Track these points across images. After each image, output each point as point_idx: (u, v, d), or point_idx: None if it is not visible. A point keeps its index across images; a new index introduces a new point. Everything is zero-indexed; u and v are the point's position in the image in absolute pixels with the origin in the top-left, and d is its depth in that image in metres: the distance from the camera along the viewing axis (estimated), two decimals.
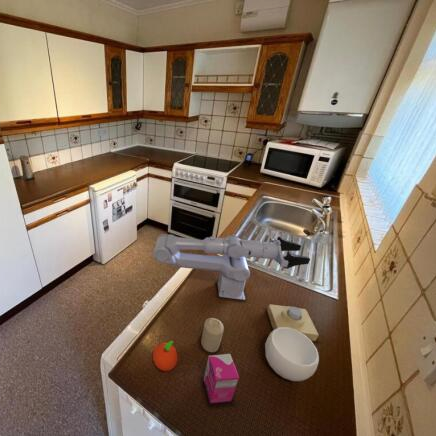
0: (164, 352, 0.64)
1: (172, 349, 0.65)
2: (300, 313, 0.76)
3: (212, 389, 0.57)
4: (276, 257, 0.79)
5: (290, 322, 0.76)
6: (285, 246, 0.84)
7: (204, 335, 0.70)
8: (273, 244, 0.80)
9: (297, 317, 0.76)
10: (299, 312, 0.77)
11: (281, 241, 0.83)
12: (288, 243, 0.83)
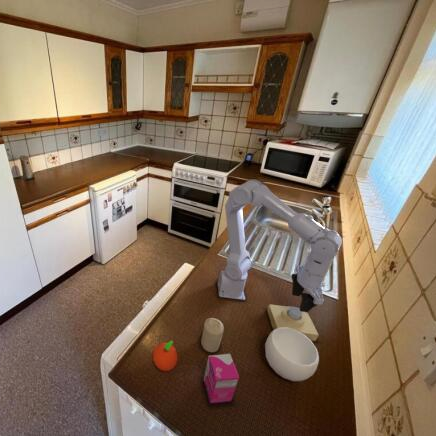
0: (164, 352, 0.64)
1: (172, 349, 0.65)
2: (300, 313, 0.76)
3: (212, 389, 0.57)
4: (311, 287, 0.68)
5: (290, 322, 0.76)
6: (300, 284, 0.76)
7: (204, 335, 0.70)
8: None
9: (297, 317, 0.76)
10: (299, 312, 0.77)
11: None
12: None
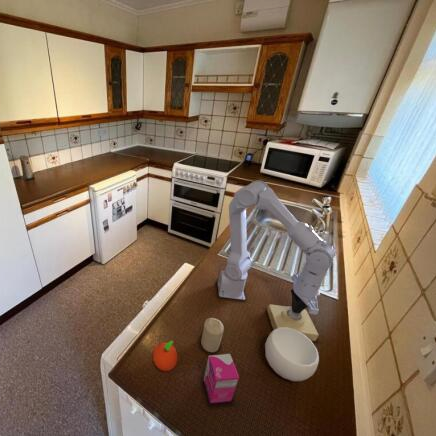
0: (164, 352, 0.64)
1: (172, 349, 0.65)
2: (300, 313, 0.76)
3: (212, 389, 0.57)
4: (306, 297, 0.70)
5: (290, 322, 0.76)
6: None
7: (204, 335, 0.70)
8: None
9: (297, 317, 0.76)
10: None
11: None
12: (304, 302, 0.75)
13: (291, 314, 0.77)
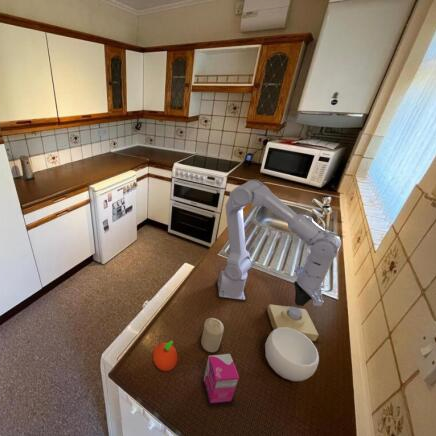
0: (164, 352, 0.64)
1: (172, 349, 0.65)
2: (300, 313, 0.76)
3: (212, 389, 0.57)
4: (310, 288, 0.69)
5: (290, 322, 0.76)
6: None
7: (204, 335, 0.70)
8: None
9: (297, 317, 0.76)
10: (299, 312, 0.77)
11: None
12: (307, 294, 0.73)
13: (291, 314, 0.77)
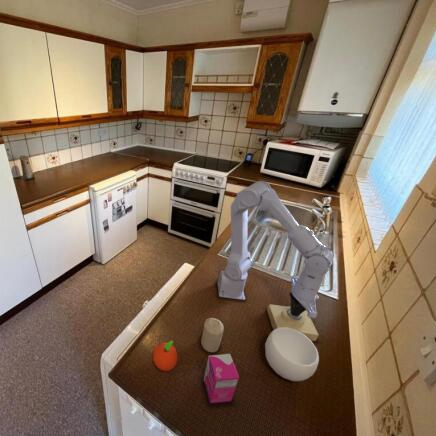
0: (164, 352, 0.64)
1: (172, 349, 0.65)
2: (299, 316, 0.77)
3: (212, 389, 0.57)
4: (305, 300, 0.71)
5: (290, 322, 0.76)
6: None
7: (204, 335, 0.70)
8: None
9: None
10: None
11: None
12: None
13: None
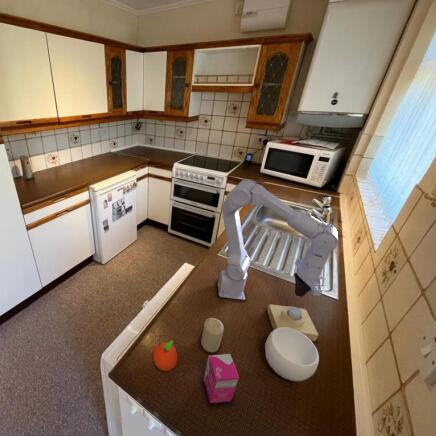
0: (164, 352, 0.64)
1: (172, 349, 0.65)
2: (300, 313, 0.76)
3: (212, 389, 0.57)
4: (309, 279, 0.71)
5: (290, 322, 0.76)
6: None
7: (204, 335, 0.70)
8: None
9: (297, 317, 0.76)
10: (299, 312, 0.77)
11: None
12: (307, 285, 0.76)
13: (291, 314, 0.77)
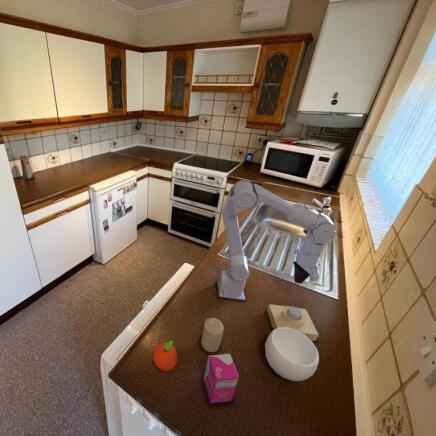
0: (164, 352, 0.64)
1: (172, 349, 0.65)
2: (300, 313, 0.76)
3: (212, 389, 0.57)
4: (308, 266, 0.77)
5: (290, 322, 0.76)
6: None
7: (204, 335, 0.70)
8: None
9: (297, 317, 0.76)
10: (299, 312, 0.77)
11: None
12: (305, 272, 0.81)
13: (291, 314, 0.77)
